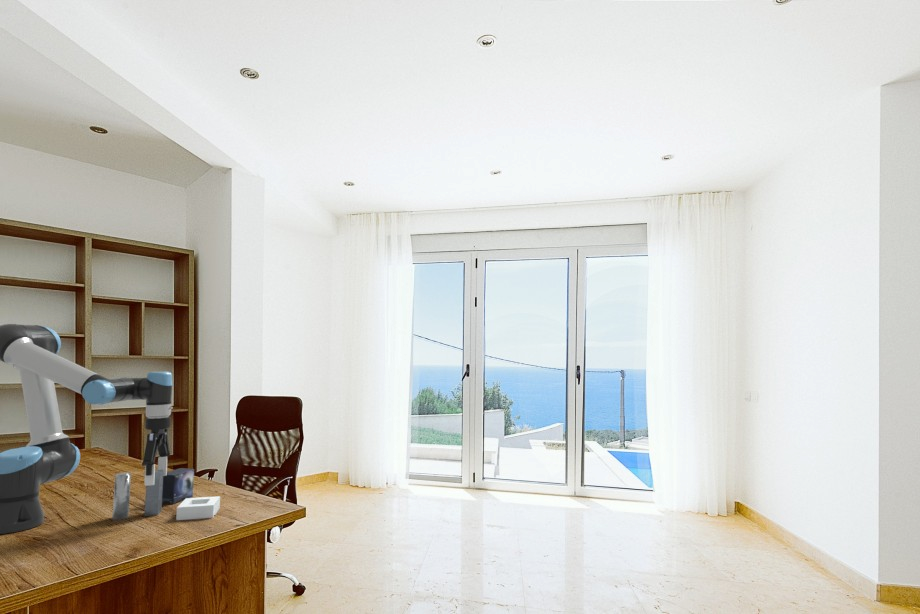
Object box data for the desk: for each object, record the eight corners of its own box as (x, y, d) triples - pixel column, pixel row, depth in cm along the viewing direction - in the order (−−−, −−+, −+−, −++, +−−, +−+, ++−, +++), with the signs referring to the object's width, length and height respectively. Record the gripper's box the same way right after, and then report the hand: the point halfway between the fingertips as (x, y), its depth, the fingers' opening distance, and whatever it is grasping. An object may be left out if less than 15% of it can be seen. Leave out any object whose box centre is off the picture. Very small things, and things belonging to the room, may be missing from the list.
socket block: (176, 520, 167) (176, 507, 167) (185, 510, 178) (185, 498, 178) (213, 517, 170) (213, 505, 170) (219, 507, 180) (220, 496, 181)
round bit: (110, 520, 167) (112, 475, 168) (115, 516, 171) (118, 472, 172) (125, 519, 168) (128, 475, 169) (130, 515, 172) (133, 472, 173)
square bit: (144, 515, 171) (146, 472, 173) (148, 512, 175) (150, 470, 176) (157, 515, 172) (160, 472, 174) (161, 511, 176) (163, 469, 177)
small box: (173, 504, 184) (174, 474, 185) (157, 503, 185) (159, 473, 186) (193, 496, 194) (195, 468, 195) (178, 495, 196) (180, 467, 197)
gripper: (159, 420, 166) (156, 488, 164) (180, 412, 190) (178, 471, 188) (132, 421, 164) (130, 490, 162) (157, 413, 188) (155, 473, 186)
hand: (155, 480), depth 175 cm, fingers open, 13 cm apart
